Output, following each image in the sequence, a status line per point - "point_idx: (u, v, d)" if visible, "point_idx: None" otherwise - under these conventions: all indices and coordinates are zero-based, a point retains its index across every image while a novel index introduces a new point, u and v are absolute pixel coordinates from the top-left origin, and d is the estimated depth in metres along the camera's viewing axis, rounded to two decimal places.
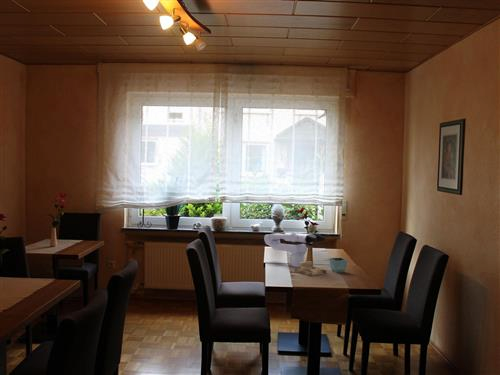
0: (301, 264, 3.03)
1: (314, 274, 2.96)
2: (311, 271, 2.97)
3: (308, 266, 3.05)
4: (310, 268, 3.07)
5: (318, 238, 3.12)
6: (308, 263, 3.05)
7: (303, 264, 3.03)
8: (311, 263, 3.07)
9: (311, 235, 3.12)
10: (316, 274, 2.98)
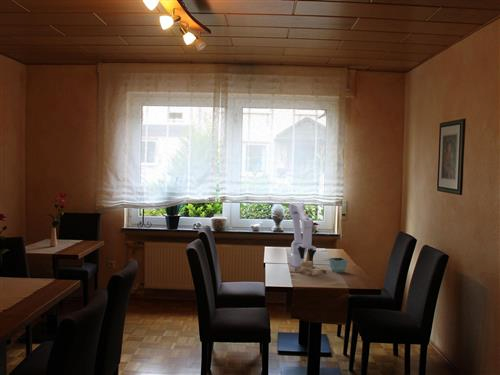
0: (301, 264, 3.03)
1: (314, 274, 2.96)
2: (311, 271, 2.97)
3: (308, 266, 3.05)
4: (310, 268, 3.07)
5: None
6: (308, 263, 3.05)
7: (303, 264, 3.03)
8: (311, 263, 3.07)
9: (305, 247, 3.03)
10: (316, 274, 2.98)
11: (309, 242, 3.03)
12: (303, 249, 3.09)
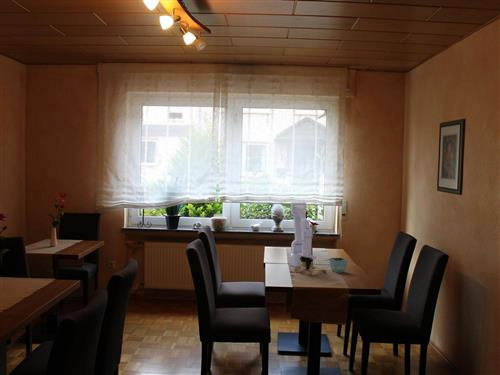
0: (301, 264, 3.03)
1: (314, 274, 2.96)
2: (311, 271, 2.97)
3: None
4: (310, 268, 3.07)
5: None
6: None
7: (303, 264, 3.03)
8: (311, 263, 3.07)
9: (304, 256, 3.04)
10: (316, 274, 2.98)
11: (309, 251, 3.03)
12: (305, 259, 3.07)
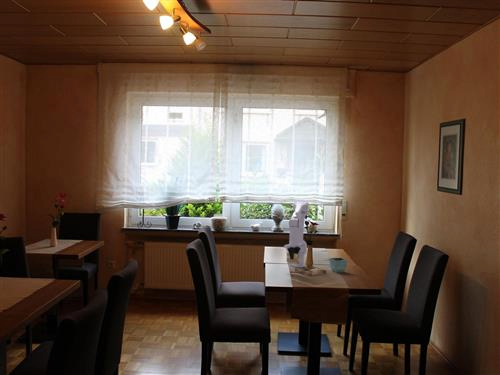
0: (298, 256, 2.97)
1: (314, 274, 2.96)
2: (311, 271, 2.97)
3: None
4: None
5: (295, 250, 3.00)
6: None
7: None
8: None
9: (296, 246, 2.98)
10: (316, 274, 2.98)
11: None
12: None
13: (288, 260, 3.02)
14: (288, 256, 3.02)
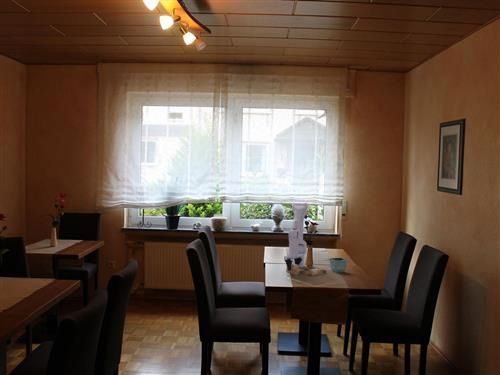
0: (298, 266, 2.97)
1: (314, 274, 2.96)
2: (311, 271, 2.97)
3: None
4: None
5: (296, 261, 3.02)
6: None
7: None
8: None
9: None
10: (316, 274, 2.98)
11: None
12: None
13: (288, 271, 3.02)
14: None
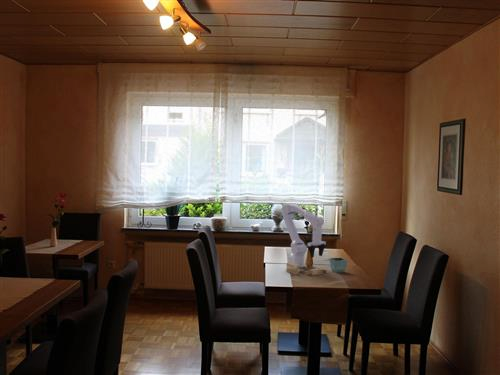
0: (298, 266, 2.97)
1: (314, 274, 2.96)
2: (311, 271, 2.97)
3: None
4: None
5: (320, 247, 3.12)
6: None
7: None
8: None
9: (319, 243, 3.08)
10: (316, 274, 2.98)
11: None
12: None
13: (288, 271, 3.02)
14: (288, 267, 3.02)
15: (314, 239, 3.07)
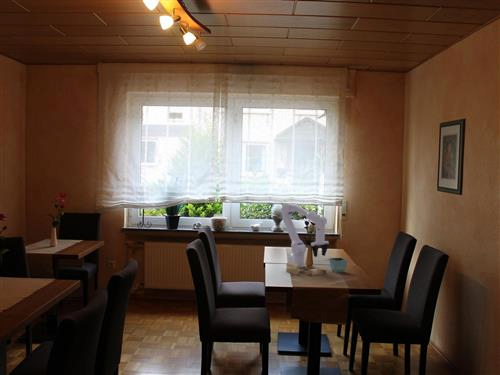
0: (298, 266, 2.97)
1: (314, 274, 2.96)
2: (311, 271, 2.97)
3: None
4: None
5: (323, 247, 3.14)
6: None
7: None
8: None
9: (322, 243, 3.10)
10: (316, 274, 2.98)
11: None
12: None
13: (288, 271, 3.02)
14: (288, 267, 3.02)
15: (317, 239, 3.09)
